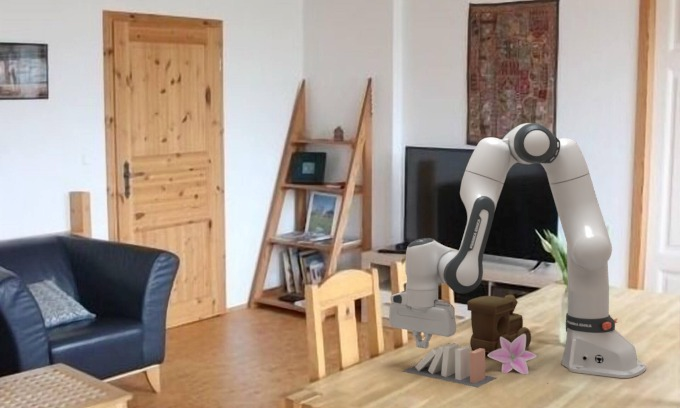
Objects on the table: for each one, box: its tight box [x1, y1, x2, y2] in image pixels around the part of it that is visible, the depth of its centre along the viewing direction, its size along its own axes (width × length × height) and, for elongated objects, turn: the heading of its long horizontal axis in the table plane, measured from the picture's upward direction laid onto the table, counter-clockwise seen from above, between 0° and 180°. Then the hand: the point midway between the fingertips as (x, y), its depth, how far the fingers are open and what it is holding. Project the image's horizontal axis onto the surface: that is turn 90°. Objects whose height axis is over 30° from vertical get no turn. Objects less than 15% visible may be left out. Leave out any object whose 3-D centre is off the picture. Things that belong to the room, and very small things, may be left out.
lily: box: [487, 334, 537, 375], centre depth 253 cm, size 12×12×10 cm
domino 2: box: [428, 342, 451, 374], centre depth 250 cm, size 2×5×8 cm, turn 141°
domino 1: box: [414, 345, 441, 371], centre depth 253 cm, size 2×5×8 cm
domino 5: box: [470, 348, 486, 383], centre depth 243 cm, size 2×5×8 cm, turn 140°
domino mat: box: [402, 364, 497, 388], centre depth 249 cm, size 24×10×1 cm, turn 50°
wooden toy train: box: [466, 294, 532, 353], centre depth 271 cm, size 20×11×17 cm, turn 138°
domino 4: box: [455, 345, 471, 380], centre depth 246 cm, size 2×5×8 cm, turn 140°
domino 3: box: [441, 342, 460, 377], centre depth 249 cm, size 2×5×8 cm, turn 141°
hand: (422, 347), depth 254 cm, fingers closed
